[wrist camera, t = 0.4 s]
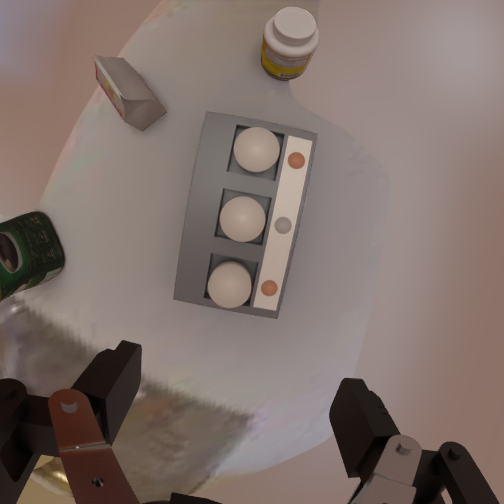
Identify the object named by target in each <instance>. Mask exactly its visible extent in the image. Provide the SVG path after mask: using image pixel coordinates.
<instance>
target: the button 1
mask: <svg viewBox="0 0 504 504" xmlns="http://www.w3.org/2000/svg"><path fill="white" fill-rule="evenodd" d="M208 292H209V295H210V297H211V298H212V300H213V301H214V302H215V303H216V304H218V305H220V306H222V307H225V308H235V307H238V306H240V305H242V304H243V303H245V302H246V301H247V299H248V298H249V296H250V293H251V276H250V273H249V271H248V269H247V268H246V266H245V265H243V264H242V263H240V262H238V261H235V260H226V261H223V262H221V263H219V264H218V265H217V266H216V267H215V268H214V270H213V272H212V274H211V276H210V279H209V282H208Z"/></svg>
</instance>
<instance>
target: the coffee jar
mask: <svg viewBox="0 0 504 504" xmlns="http://www.w3.org/2000/svg"><path fill="white" fill-rule="evenodd" d="M62 266H63V253H62V250H61V247H60V244H59V242H58V239H57V237H56V235H55V232H54V230H53V228H52V226H51V224H50V222H49V220H48V219H47V217H46V216H45V215H44V214H42V213H41V212H30V213H27V214H24V215H21V216H18V217H16V218H13V219H11V220H8V221H5V222H3V223H0V302H1V300H3V299H5V298H7V297H9V296H11V295H13V294H15V293H18V292H20V291H23V290H26V289H29V288H32V287H35V286H37V285H40V284H42V283H44V282H46V281H48V280H50V279H52V278H53V277H55V276H56V275H57V274H58V273H59V272H60V271H61V269H62Z"/></svg>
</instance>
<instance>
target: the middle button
mask: <svg viewBox="0 0 504 504" xmlns="http://www.w3.org/2000/svg"><path fill="white" fill-rule="evenodd" d="M220 225H221V228H222V230H223V232H224V233H225V234H226V235H227V236H228V237H229V238H231V239H232V240H235V241H238V242H247V241H250V240H253V239H255V238H256V237H257V236H258V235H259V234H260V233H261V232H262V230H263V228H264V225H265V213H264V210H263V208H262V207H261V205H260V204H259V203H258V202H257V201H256V200H254V199H252V198H250V197H246V196H240V197H236V198H233V199H232V200H230V201H229V202H227V203H226V204H225V206H224V207H223V209H222V211H221V214H220Z"/></svg>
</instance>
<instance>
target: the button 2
mask: <svg viewBox="0 0 504 504" xmlns="http://www.w3.org/2000/svg"><path fill="white" fill-rule="evenodd" d="M279 152H280V147H279V142H278V140H277V138H276V137H275V135H274V134H273V133H272V132H270V131H269V130H267V129H265V128H261V127H252V128H248V129H246V130H244V131H243V132H242V133H240V134H239V136H238V137H237V139H236V141H235V144H234V154H235V157H236V160H237V162H238V164H239V165H240V166H241V167H242V168H243V169H244V170H246V171H248V172H251V173H261V172H264V171H266V170H268V169H269V168H270V167H271V166H272V165H273V164H274V163H275V162H276V160H277V159H278V156H279Z"/></svg>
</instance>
